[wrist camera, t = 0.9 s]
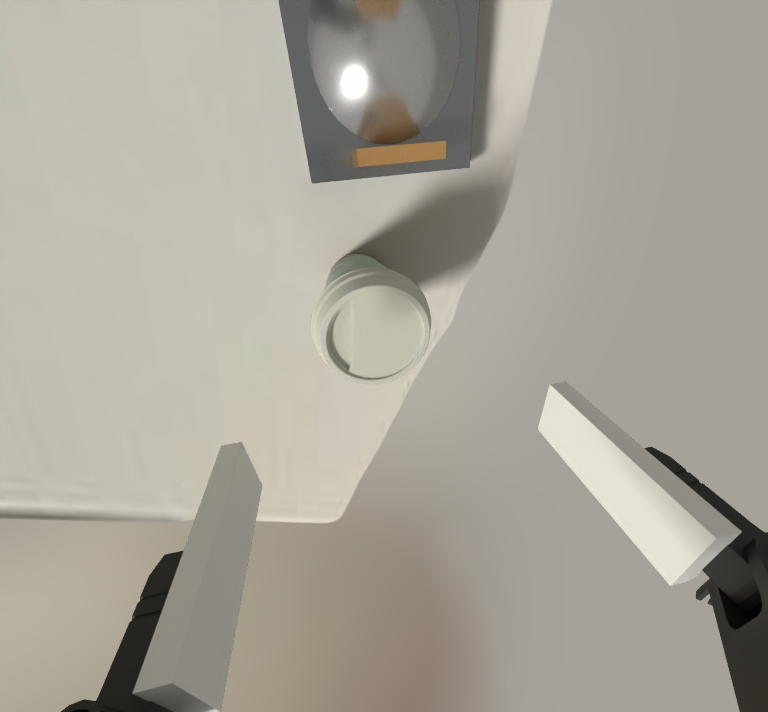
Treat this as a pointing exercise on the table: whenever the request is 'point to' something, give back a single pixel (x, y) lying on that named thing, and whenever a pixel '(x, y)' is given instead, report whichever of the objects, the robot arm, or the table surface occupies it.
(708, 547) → the robot arm
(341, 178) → the block
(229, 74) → the table surface
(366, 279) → the coffee cup
